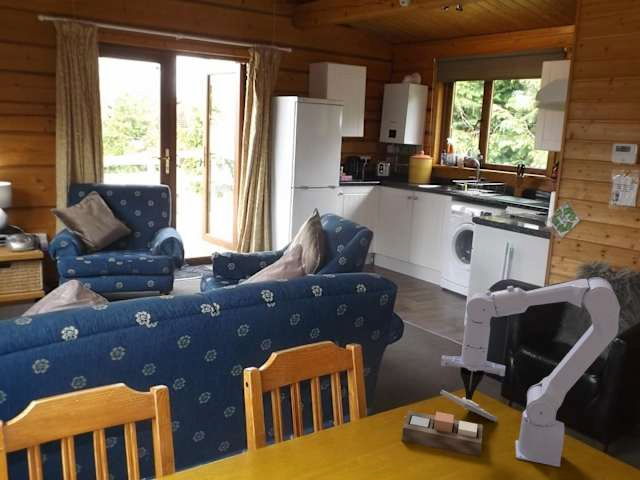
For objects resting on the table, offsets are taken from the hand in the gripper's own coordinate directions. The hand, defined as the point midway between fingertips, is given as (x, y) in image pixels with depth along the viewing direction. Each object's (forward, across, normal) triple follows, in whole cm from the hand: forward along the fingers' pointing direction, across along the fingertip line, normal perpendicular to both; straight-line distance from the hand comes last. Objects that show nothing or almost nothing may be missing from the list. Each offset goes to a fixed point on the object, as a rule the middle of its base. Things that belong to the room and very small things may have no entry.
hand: (468, 398), depth 144 cm
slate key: (+10, -11, -3) cm, 15 cm away
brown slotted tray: (+10, -5, -3) cm, 12 cm away
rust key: (+8, -5, -3) cm, 10 cm away
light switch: (+11, 0, +10) cm, 14 cm away
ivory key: (+9, +1, -3) cm, 9 cm away
